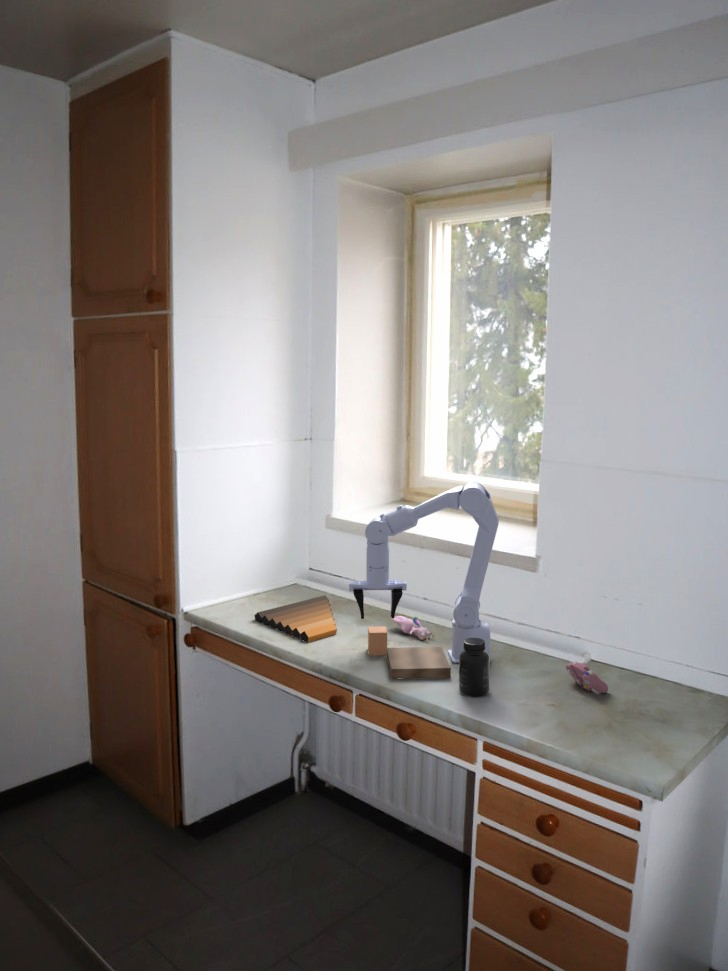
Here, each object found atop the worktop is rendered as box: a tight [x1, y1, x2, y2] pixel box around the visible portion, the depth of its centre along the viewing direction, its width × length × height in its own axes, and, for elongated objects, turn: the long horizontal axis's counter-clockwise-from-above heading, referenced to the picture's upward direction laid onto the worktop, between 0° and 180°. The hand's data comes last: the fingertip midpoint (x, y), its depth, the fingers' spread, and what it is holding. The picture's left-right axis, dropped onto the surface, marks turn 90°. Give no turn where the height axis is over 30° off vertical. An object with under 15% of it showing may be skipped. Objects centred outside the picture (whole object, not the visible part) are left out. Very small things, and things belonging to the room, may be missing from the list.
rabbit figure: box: [390, 615, 436, 643], centre depth 221 cm, size 6×6×15 cm
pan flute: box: [253, 594, 338, 643], centre depth 232 cm, size 25×3×25 cm
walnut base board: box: [386, 646, 452, 680], centre depth 198 cm, size 14×14×2 cm
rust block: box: [367, 626, 388, 656], centre depth 208 cm, size 5×5×6 cm
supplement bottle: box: [458, 638, 491, 698], centre depth 183 cm, size 7×7×12 cm
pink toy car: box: [565, 660, 609, 694], centre depth 186 cm, size 10×5×7 cm, turn 21°
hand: (377, 617), depth 207 cm, fingers open, 7 cm apart
